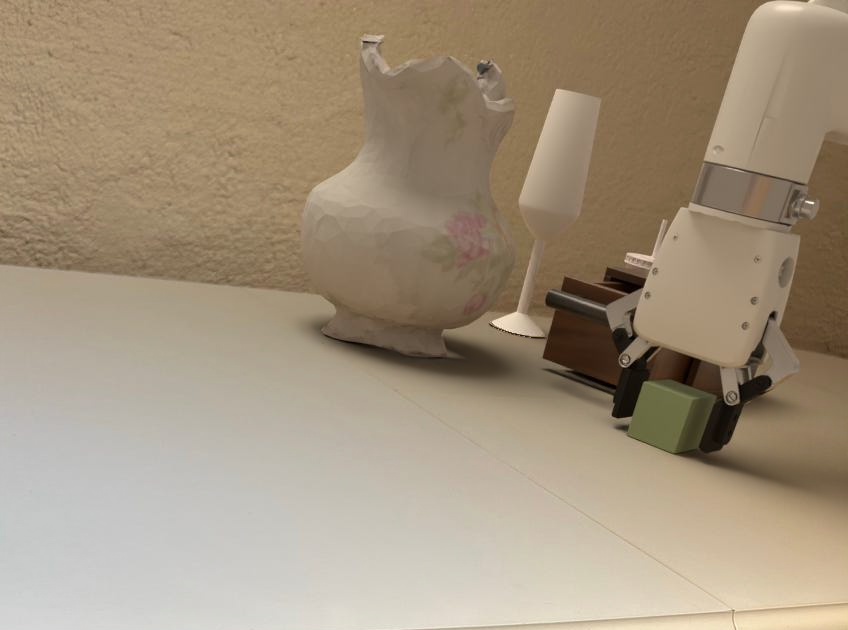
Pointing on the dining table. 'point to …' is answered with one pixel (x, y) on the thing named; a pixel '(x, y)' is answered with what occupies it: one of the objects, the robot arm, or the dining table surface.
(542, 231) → the champagne flute
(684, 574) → the dining table surface
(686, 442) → the block
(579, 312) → the drawer
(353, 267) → the ceramic pitcher
